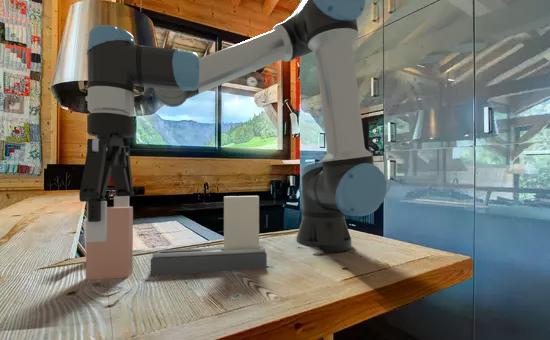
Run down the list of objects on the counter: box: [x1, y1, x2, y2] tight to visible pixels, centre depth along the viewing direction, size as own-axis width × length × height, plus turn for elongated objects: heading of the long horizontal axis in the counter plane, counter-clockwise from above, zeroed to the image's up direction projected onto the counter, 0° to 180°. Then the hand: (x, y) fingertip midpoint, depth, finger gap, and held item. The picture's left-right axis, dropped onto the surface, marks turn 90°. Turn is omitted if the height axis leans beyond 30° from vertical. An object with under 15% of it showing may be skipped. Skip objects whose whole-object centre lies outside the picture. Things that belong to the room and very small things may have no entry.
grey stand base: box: [150, 245, 268, 277], centre depth 58 cm, size 22×6×5 cm, turn 100°
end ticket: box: [85, 205, 134, 280], centre depth 53 cm, size 7×2×14 cm, turn 100°
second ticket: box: [223, 195, 260, 250], centre depth 60 cm, size 7×2×14 cm, turn 100°
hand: (110, 234), depth 53 cm, fingers open, 11 cm apart
